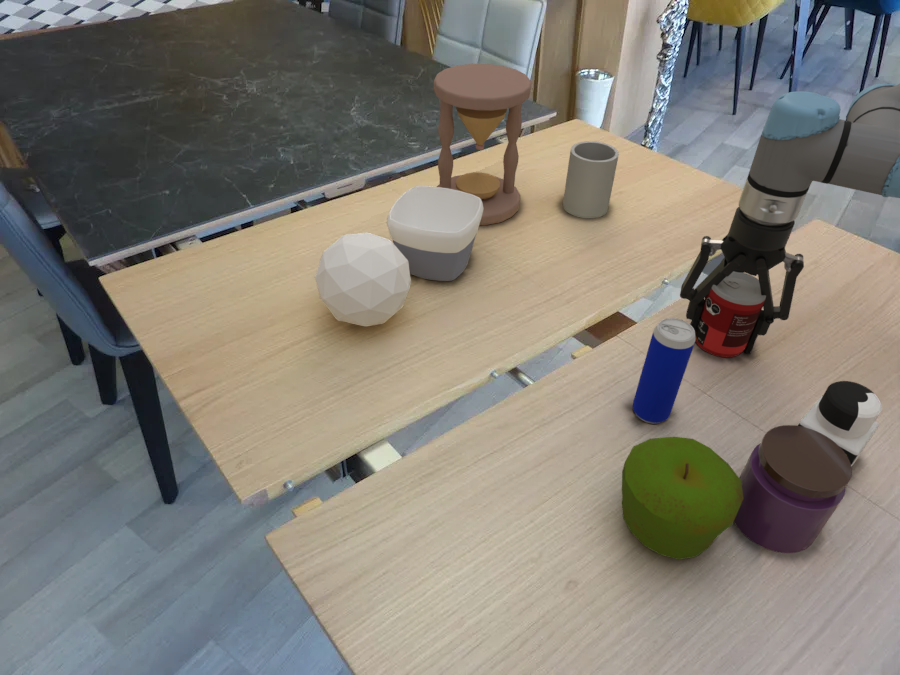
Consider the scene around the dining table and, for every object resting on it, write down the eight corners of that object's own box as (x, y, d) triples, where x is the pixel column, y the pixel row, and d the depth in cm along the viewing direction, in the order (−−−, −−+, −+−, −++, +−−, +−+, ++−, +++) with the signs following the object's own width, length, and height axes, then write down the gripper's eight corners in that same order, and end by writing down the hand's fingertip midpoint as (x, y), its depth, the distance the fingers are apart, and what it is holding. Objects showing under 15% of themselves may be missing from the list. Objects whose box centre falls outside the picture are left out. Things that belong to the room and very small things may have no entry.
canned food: (699, 320, 108) (718, 264, 101) (749, 337, 105) (773, 280, 98) (686, 346, 103) (705, 289, 96) (738, 365, 100) (762, 308, 93)
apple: (594, 536, 77) (611, 476, 70) (634, 467, 85) (653, 406, 78) (700, 593, 72) (730, 535, 65) (732, 514, 80) (762, 454, 73)
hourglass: (517, 183, 142) (528, 64, 126) (522, 227, 129) (535, 99, 113) (435, 181, 142) (435, 61, 126) (431, 224, 129) (431, 96, 113)
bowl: (463, 296, 112) (465, 239, 105) (379, 277, 116) (375, 221, 108) (488, 248, 123) (492, 194, 116) (411, 233, 127) (410, 179, 119)
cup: (608, 220, 132) (619, 164, 124) (562, 215, 133) (570, 159, 125) (607, 198, 138) (617, 143, 131) (563, 193, 139) (571, 139, 132)
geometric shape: (388, 329, 113) (441, 265, 107) (351, 358, 99) (410, 287, 93) (325, 273, 113) (375, 206, 107) (280, 295, 100) (334, 219, 93)
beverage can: (673, 407, 93) (702, 325, 84) (663, 431, 90) (691, 348, 80) (638, 393, 95) (662, 311, 86) (626, 416, 92) (649, 333, 82)
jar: (814, 496, 82) (852, 436, 75) (818, 565, 75) (860, 506, 68) (730, 472, 85) (758, 412, 78) (726, 537, 78) (757, 477, 70)
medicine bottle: (779, 458, 87) (814, 393, 79) (802, 429, 91) (838, 365, 83) (834, 491, 83) (876, 426, 75) (856, 459, 87) (898, 395, 79)
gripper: (684, 211, 89) (648, 339, 104) (853, 242, 84) (789, 373, 99) (689, 186, 94) (654, 311, 109) (848, 214, 89) (789, 342, 104)
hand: (718, 340), depth 104 cm, fingers closed on canned food, 8 cm apart
